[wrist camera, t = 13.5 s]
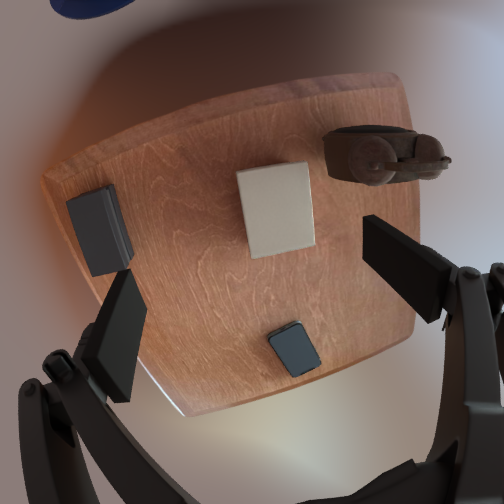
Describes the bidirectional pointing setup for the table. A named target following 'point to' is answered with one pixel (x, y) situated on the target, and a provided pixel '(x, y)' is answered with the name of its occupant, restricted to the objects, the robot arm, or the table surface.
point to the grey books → (101, 230)
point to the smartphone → (294, 349)
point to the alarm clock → (382, 155)
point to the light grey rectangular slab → (276, 208)
